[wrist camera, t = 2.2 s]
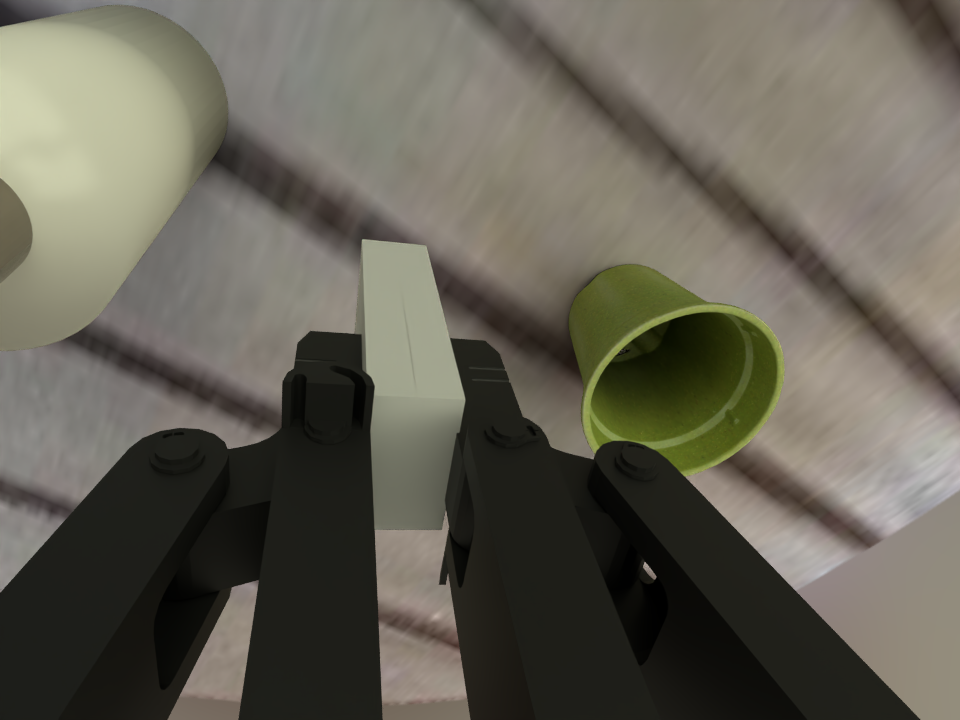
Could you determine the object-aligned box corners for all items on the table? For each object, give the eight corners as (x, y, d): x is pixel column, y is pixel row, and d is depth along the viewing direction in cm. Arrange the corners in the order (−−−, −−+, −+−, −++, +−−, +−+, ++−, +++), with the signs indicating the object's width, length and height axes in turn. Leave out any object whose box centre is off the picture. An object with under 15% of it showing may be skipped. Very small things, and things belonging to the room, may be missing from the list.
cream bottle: (226, 21, 27) (2, 133, 10) (230, 190, 30) (68, 485, 14) (33, -11, 25) (-609, 60, 9) (60, 171, 29) (-360, 477, 12)
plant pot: (536, 242, 34) (585, 322, 27) (711, 223, 35) (804, 294, 28) (538, 392, 39) (580, 494, 32) (691, 371, 40) (766, 465, 33)
